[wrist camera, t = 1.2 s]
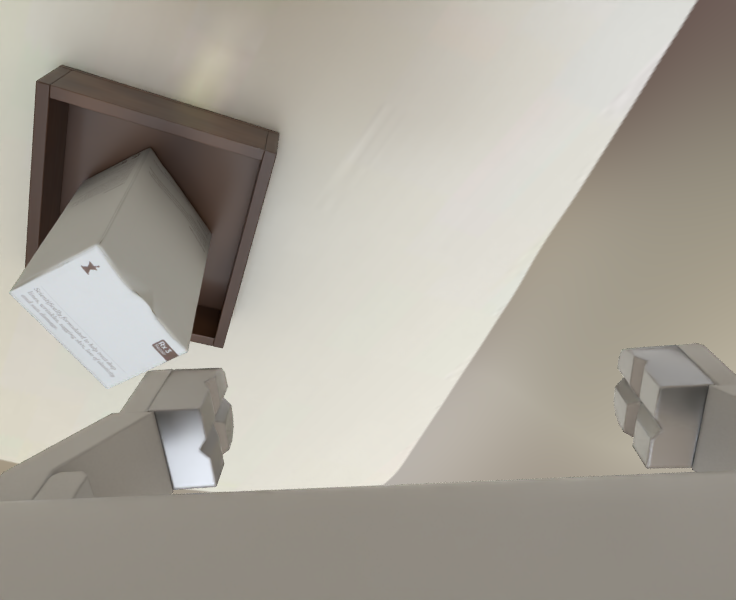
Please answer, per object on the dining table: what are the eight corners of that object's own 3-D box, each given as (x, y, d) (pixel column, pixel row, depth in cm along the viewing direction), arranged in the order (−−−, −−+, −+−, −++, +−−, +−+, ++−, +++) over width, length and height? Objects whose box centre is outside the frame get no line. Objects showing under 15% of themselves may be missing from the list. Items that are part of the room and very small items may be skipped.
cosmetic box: (84, 178, 43) (-7, 288, 30) (155, 142, 42) (91, 239, 30) (154, 268, 47) (100, 396, 35) (220, 237, 46) (188, 357, 34)
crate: (44, 274, 47) (22, 305, 44) (61, 64, 39) (35, 80, 35) (229, 316, 51) (222, 348, 47) (279, 132, 43) (276, 153, 39)
